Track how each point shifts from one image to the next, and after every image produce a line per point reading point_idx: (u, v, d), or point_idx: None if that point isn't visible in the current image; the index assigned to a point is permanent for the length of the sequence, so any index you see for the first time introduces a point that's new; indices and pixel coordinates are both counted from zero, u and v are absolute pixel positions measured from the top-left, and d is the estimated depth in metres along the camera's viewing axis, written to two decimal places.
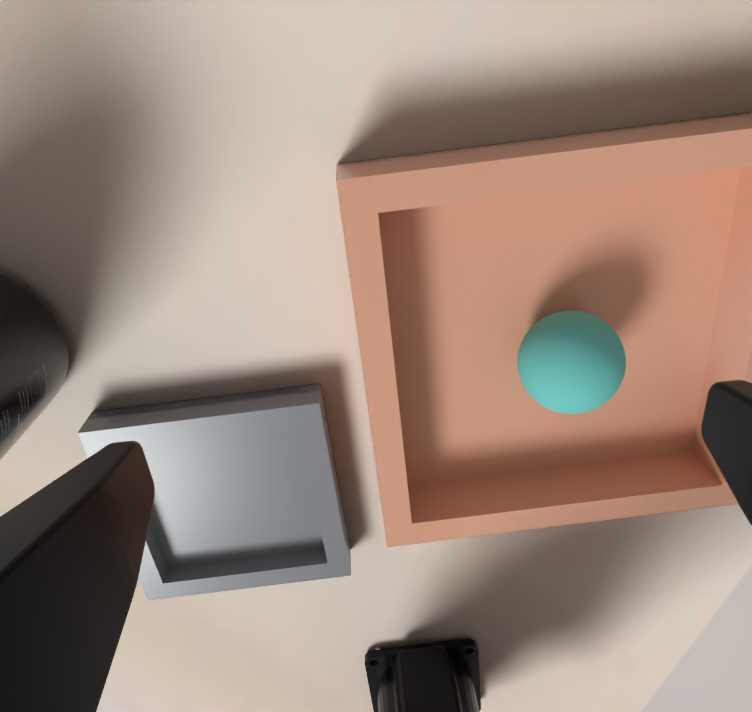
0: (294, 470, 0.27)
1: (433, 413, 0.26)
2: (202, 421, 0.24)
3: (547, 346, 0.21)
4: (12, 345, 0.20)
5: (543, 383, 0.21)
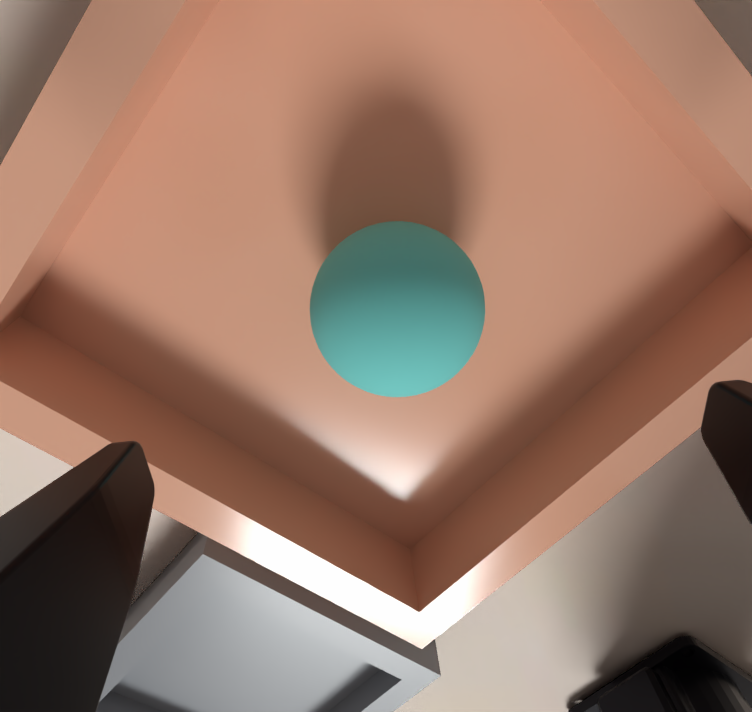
0: None
1: (350, 463, 0.18)
2: (126, 642, 0.19)
3: (318, 331, 0.13)
4: None
5: (357, 382, 0.13)
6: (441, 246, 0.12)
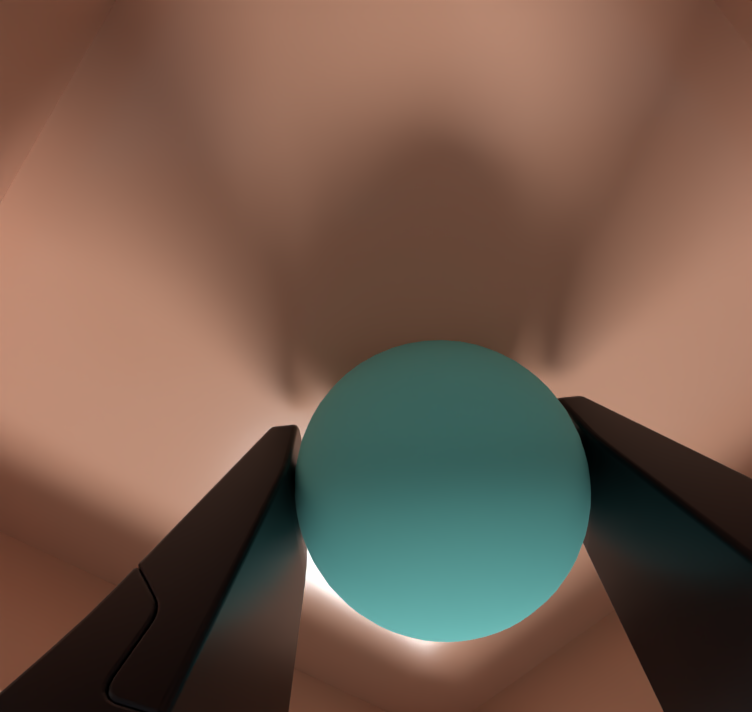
0: None
1: (358, 639, 0.13)
2: None
3: (308, 539, 0.07)
4: None
5: (375, 623, 0.07)
6: (525, 403, 0.07)
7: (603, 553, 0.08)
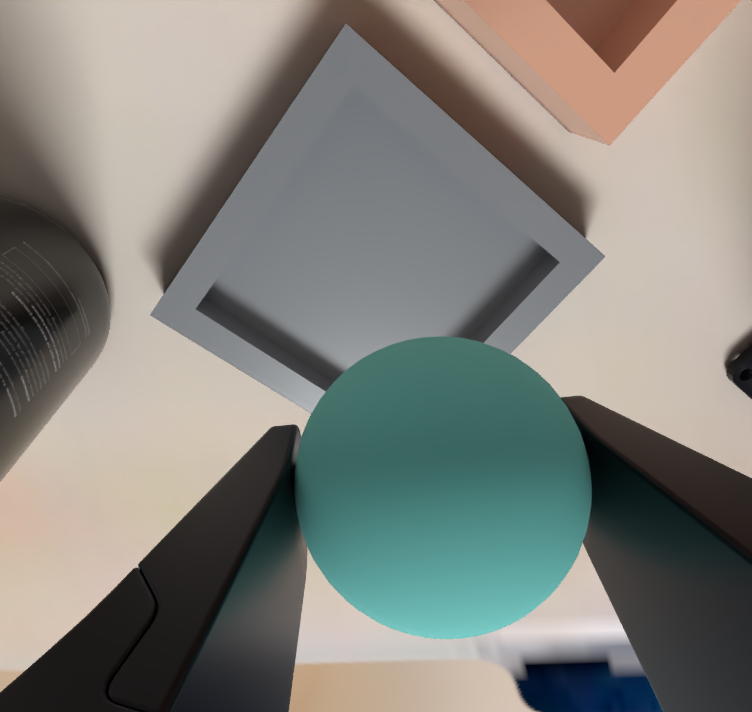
0: (416, 175, 0.17)
1: None
2: (246, 184, 0.16)
3: (308, 535, 0.07)
4: None
5: None
6: (526, 398, 0.07)
7: (603, 553, 0.08)
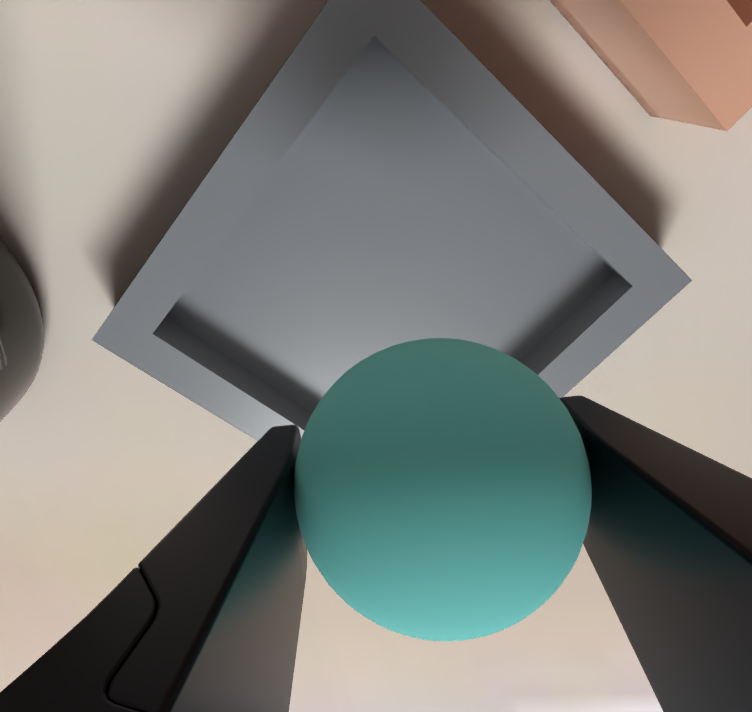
0: (450, 165, 0.13)
1: None
2: (222, 169, 0.12)
3: (308, 538, 0.07)
4: None
5: (375, 622, 0.07)
6: (525, 400, 0.07)
7: (603, 553, 0.08)
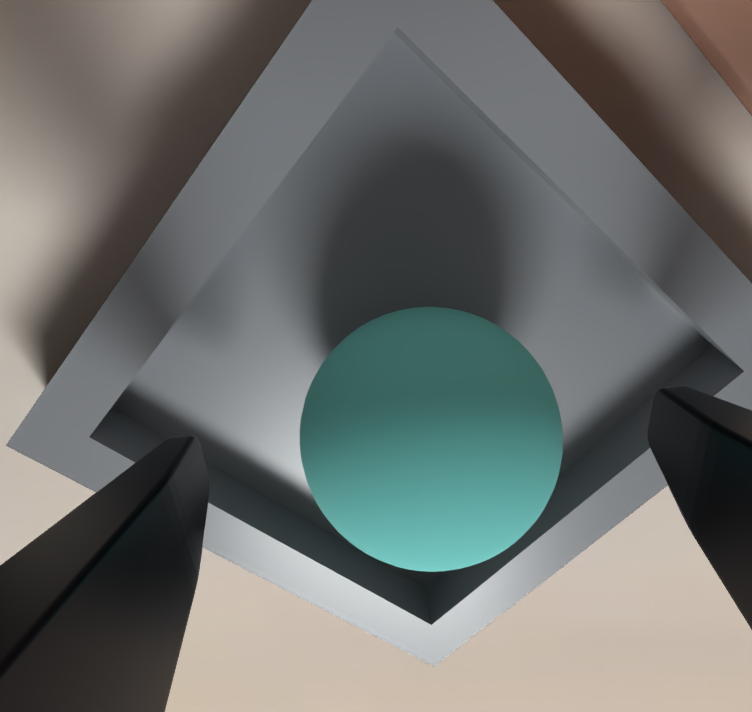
0: (498, 209, 0.10)
1: None
2: (177, 220, 0.08)
3: (312, 480, 0.08)
4: None
5: None
6: (503, 356, 0.08)
7: (719, 541, 0.08)
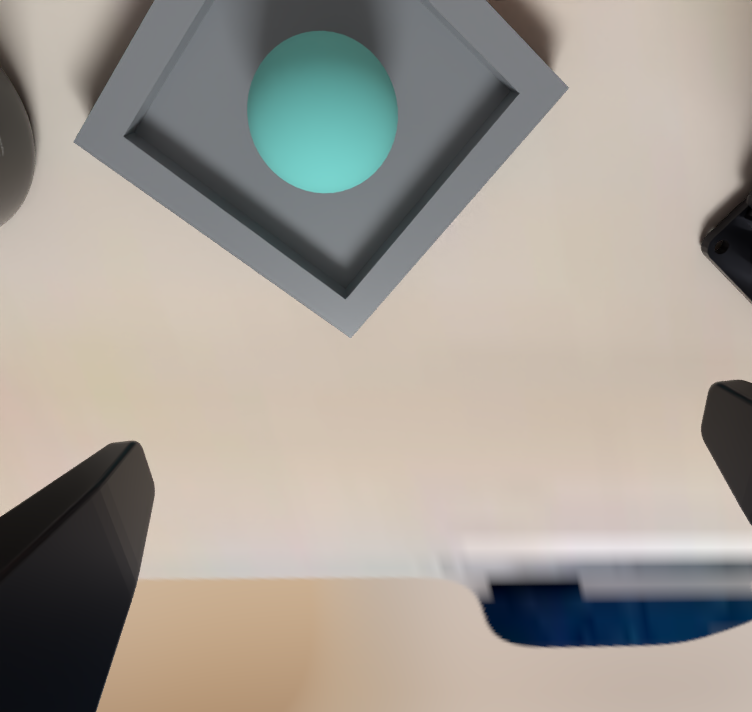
0: None
1: None
2: None
3: (253, 123, 0.15)
4: None
5: (287, 168, 0.15)
6: (353, 43, 0.14)
7: None
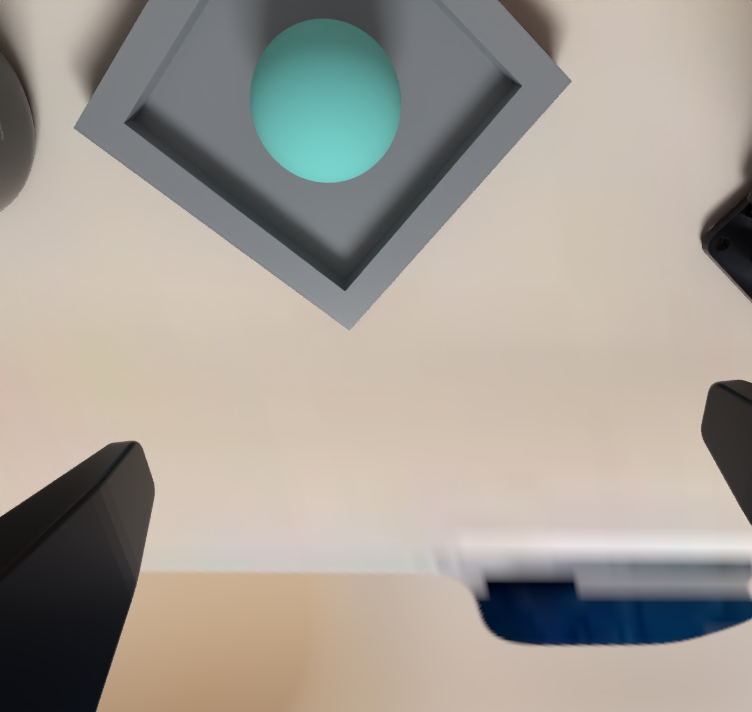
0: None
1: None
2: None
3: (256, 111, 0.15)
4: None
5: (290, 156, 0.15)
6: (358, 31, 0.14)
7: None
